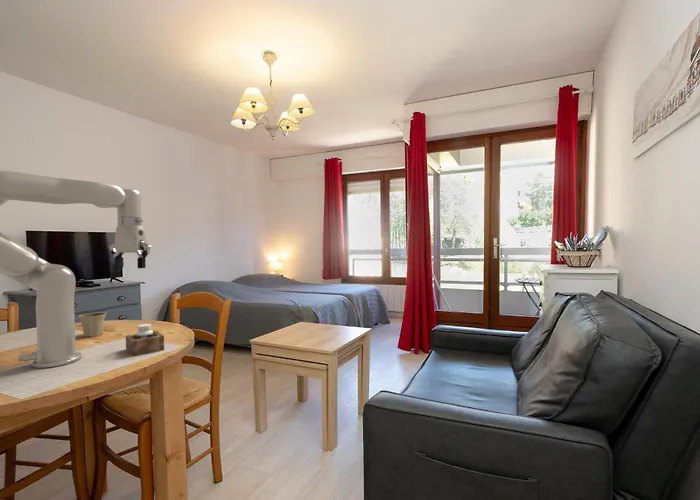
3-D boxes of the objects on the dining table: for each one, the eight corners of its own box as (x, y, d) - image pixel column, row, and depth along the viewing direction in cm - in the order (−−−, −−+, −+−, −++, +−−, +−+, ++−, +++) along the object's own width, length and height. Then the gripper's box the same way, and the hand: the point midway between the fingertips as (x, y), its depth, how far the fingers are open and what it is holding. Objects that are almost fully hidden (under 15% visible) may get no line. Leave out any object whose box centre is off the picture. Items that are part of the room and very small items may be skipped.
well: (132, 356, 120) (131, 341, 120) (126, 349, 127) (125, 335, 127) (164, 349, 126) (163, 335, 126) (156, 343, 134) (156, 330, 134)
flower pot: (73, 337, 144) (72, 316, 144) (96, 331, 153) (95, 311, 153) (90, 338, 142) (89, 317, 141) (112, 332, 151) (111, 312, 150)
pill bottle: (140, 352, 123) (139, 327, 123) (133, 350, 126) (133, 325, 126) (156, 349, 127) (155, 324, 127) (149, 346, 130) (148, 322, 130)
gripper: (156, 222, 135) (157, 267, 135) (118, 223, 138) (119, 267, 138) (141, 221, 127) (142, 269, 128) (101, 222, 131) (102, 268, 131)
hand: (130, 268), depth 133 cm, fingers open, 9 cm apart
